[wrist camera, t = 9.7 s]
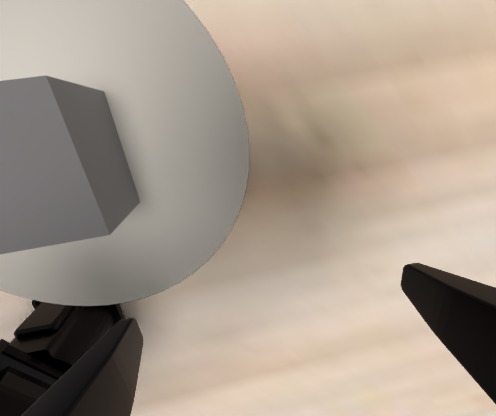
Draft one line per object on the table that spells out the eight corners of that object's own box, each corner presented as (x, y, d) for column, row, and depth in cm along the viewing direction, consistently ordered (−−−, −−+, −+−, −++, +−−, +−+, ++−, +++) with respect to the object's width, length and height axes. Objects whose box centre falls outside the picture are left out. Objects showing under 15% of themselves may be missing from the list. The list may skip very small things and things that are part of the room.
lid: (263, 266, 11) (282, 321, 8) (-13, 321, 10) (-112, 408, 7) (216, -96, 6) (217, -288, 3) (-295, -61, 5) (-920, -284, 2)
